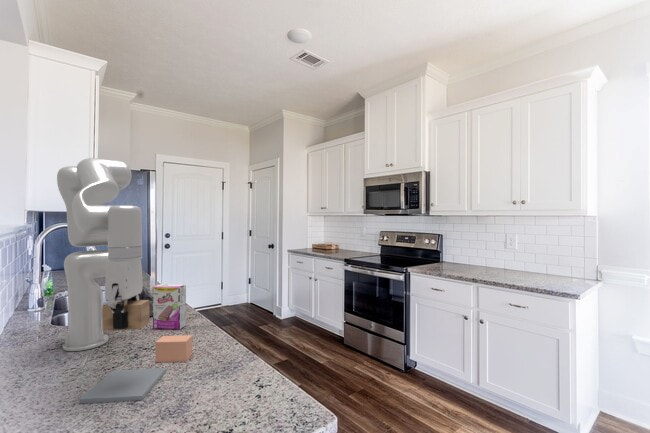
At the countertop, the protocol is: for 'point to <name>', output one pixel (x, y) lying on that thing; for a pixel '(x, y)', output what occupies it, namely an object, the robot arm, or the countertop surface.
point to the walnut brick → (136, 315)
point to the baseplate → (124, 386)
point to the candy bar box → (169, 306)
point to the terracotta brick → (173, 348)
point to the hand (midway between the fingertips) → (126, 323)
